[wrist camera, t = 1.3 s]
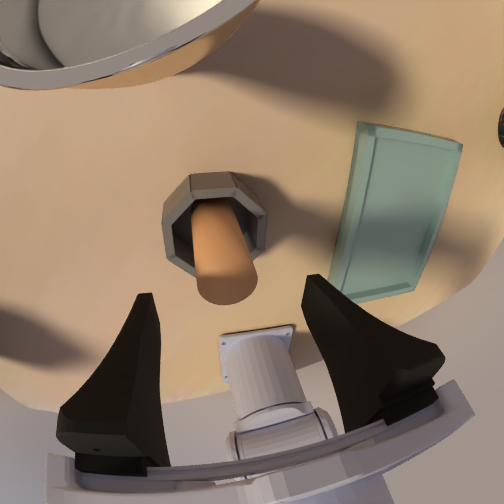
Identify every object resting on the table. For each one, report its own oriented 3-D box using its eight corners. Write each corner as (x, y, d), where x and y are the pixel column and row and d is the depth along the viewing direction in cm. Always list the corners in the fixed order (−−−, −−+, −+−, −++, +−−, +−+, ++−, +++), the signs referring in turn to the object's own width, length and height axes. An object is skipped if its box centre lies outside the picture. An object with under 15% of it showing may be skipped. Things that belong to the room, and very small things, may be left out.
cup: (254, 249, 24) (263, 272, 22) (171, 257, 23) (170, 281, 20) (257, 170, 20) (268, 185, 18) (161, 176, 19) (157, 193, 16)
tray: (407, 283, 32) (414, 290, 31) (322, 299, 30) (328, 309, 28) (452, 139, 22) (463, 144, 20) (357, 121, 19) (368, 125, 18)
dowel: (232, 226, 22) (256, 301, 15) (192, 230, 21) (199, 307, 15) (232, 189, 20) (259, 255, 14) (189, 192, 20) (194, 261, 13)
